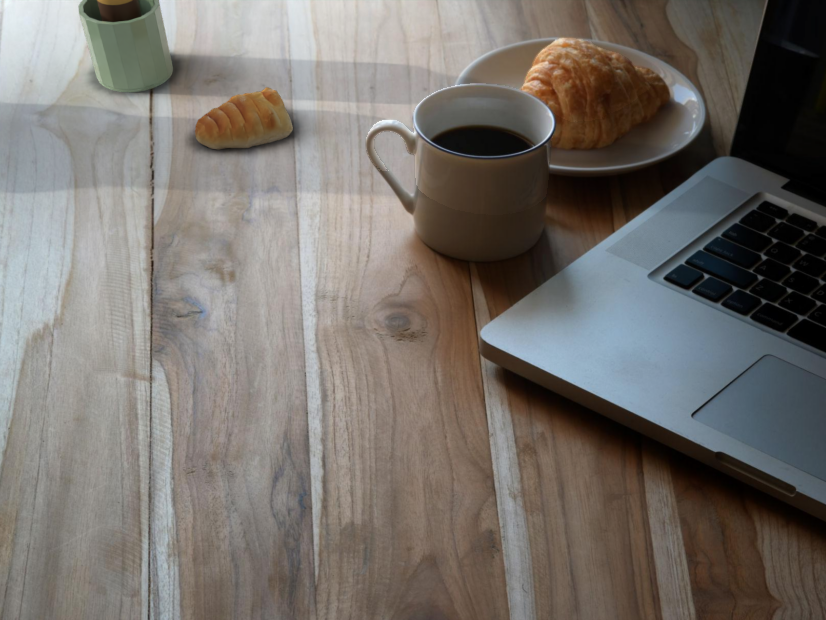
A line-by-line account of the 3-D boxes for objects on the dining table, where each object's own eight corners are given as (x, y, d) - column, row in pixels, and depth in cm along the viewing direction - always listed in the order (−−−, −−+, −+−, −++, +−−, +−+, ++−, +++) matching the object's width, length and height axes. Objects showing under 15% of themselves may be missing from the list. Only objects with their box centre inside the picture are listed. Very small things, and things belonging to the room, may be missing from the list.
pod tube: (109, 77, 100) (88, -3, 93) (122, 58, 103) (102, -21, 96) (146, 81, 100) (128, 1, 93) (158, 61, 102) (141, -18, 96)
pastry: (211, 165, 91) (205, 131, 88) (186, 130, 95) (179, 97, 92) (299, 138, 94) (295, 105, 92) (271, 106, 98) (267, 73, 96)
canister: (86, 90, 99) (66, 20, 93) (113, 52, 105) (95, -17, 99) (160, 97, 99) (144, 27, 93) (182, 58, 104) (169, -11, 98)
